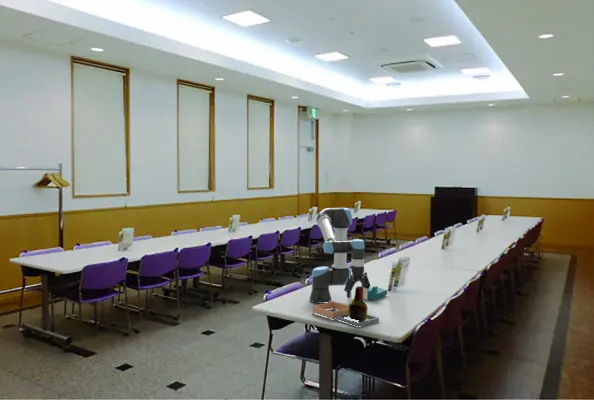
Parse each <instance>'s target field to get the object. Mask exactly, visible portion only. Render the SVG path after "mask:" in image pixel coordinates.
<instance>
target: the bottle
mask: <svg viewBox="0 0 594 400" xmlns="http://www.w3.org/2000/svg"><path fill="white" fill-rule="evenodd" d="M354 291H355V292H354V298H352V303H348V306H349V308H348V310H349V317H350V318H351V319H355V320H360V321H364V320H366V318H367V314H368V305H367V303H366V302H365V299H363V288H362V287H361V286H356V287H355V290H354Z"/></svg>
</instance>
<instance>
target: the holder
mask: <svg viewBox="0 0 594 400" xmlns="http://www.w3.org/2000/svg"><path fill="white" fill-rule="evenodd" d="M331 308H334V309H338V311H336V310H333V311H332V310H329V311H328V310H326V309H331ZM348 308H349V305H347V304H344V303H340V302H336V301H334V300H333V301H331V302H328V303H319V304H316V305H313V306H312V313H313V312H314V313H317V314H320V315H323V316H326V317H328V318H331V319H335V318H336V316H340V315H344V314H347V313H349V310H348Z"/></svg>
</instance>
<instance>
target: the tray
mask: <svg viewBox="0 0 594 400" xmlns="http://www.w3.org/2000/svg"><path fill="white" fill-rule="evenodd" d="M348 316H349V313H347V314H344V315H340V316H336V319H338V320H341V321H344V322H347V323H349V324H352V325H355V326H358V327H359V326H363V327H365V326H364V325H367V326H369V325H368V324H370V325H372V324H371V323H373V324H375V323H374V322H377V323H379V322H380V317H378V316H375V315H373V314H372V315H371V314H368V313H367V318H366V320H364V321H360V320H359V321H358V322H359V323H357V322H354V321H350V320H347V319H344V317H348ZM378 321H379V322H378Z"/></svg>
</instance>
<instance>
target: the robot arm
mask: <svg viewBox="0 0 594 400" xmlns="http://www.w3.org/2000/svg"><path fill="white" fill-rule="evenodd" d="M316 223H317V226H318V227H319V228H320V232H321V234H322V237H323V240H324V242H323V245H322V246H323V248H322V249H323V252H324V253H325V254H330V255H332V254H333V264H332V265H331V268H330V267H329V266H323V265H322V266H318V267H314V268H313V269H312V271H311V293H310V295H309V302H310V301H313V302H329V301H331V302H332V296H331V292H330V286H331V287H332V286H344V290H343V291H344V292H346V298H347V299H346V300H347V303H348V304H349V303H352V299H353V298H352V295H353V293H352V290H353V288H354V286H355V285H356V284H357V283H358V282H360V283H361V286H362V285H363V286H364V287H365V288H363V300H366V299H367V293H368V289H369V288H371V284H370V281H369V277H368V272H366V271H365V266H364V265H365V241H364V240H363V239H361V238H360V239H359V238H357V239H356V238H355V239H349V240H348V230H349V228H350V226H351V225H352V224H353V214H352V212H351V210H350V209H349V208H348V207H327V208H324V209H321V211H320V212H318V214H317V217H316ZM348 254H351V259H350V260H351V261H350V263H351V266H350V267H351V268H350V267H349V265H348V264H347V255H348ZM313 302H312V303H313Z"/></svg>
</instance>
